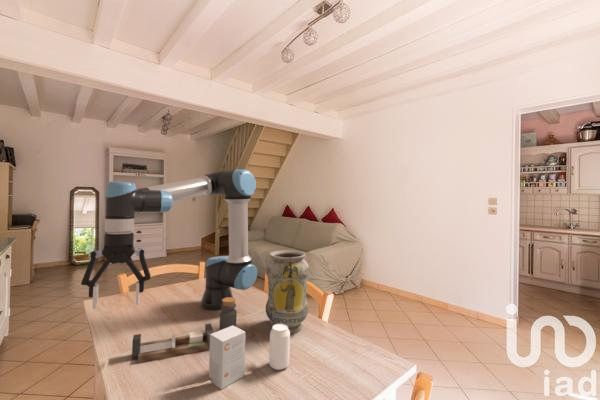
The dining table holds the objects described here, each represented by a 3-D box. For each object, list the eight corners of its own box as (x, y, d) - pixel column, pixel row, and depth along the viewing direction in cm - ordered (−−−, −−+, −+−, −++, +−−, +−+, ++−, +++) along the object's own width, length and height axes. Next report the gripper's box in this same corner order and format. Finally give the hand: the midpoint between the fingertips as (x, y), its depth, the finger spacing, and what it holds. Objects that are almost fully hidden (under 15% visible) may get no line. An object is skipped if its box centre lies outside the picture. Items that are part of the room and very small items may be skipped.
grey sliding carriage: (174, 345, 94) (175, 328, 94) (175, 356, 87) (175, 337, 87) (133, 352, 89) (134, 334, 89) (130, 364, 82) (131, 344, 82)
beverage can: (271, 359, 90) (272, 321, 90) (290, 360, 89) (291, 323, 89) (267, 370, 83) (268, 330, 83) (287, 372, 83) (288, 332, 83)
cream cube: (201, 342, 97) (201, 330, 97) (202, 347, 93) (202, 335, 93) (189, 344, 95) (189, 332, 95) (189, 350, 92) (190, 337, 92)
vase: (264, 338, 103) (266, 257, 103) (263, 318, 120) (265, 249, 121) (311, 336, 106) (314, 257, 106) (303, 316, 123) (306, 249, 123)
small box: (231, 367, 85) (233, 324, 85) (244, 376, 80) (246, 331, 81) (207, 379, 78) (209, 333, 78) (220, 390, 74) (222, 341, 74)
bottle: (238, 338, 102) (240, 298, 102) (229, 346, 96) (231, 303, 97) (225, 335, 104) (226, 295, 104) (215, 343, 98) (216, 300, 98)
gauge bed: (210, 339, 101) (210, 323, 101) (213, 352, 92) (214, 334, 92) (140, 351, 91) (141, 333, 91) (137, 367, 83) (138, 347, 83)
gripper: (161, 230, 93) (159, 296, 93) (76, 231, 83) (74, 305, 83) (160, 233, 86) (158, 304, 86) (68, 234, 76) (65, 315, 76)
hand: (116, 305), depth 85 cm, fingers open, 10 cm apart
